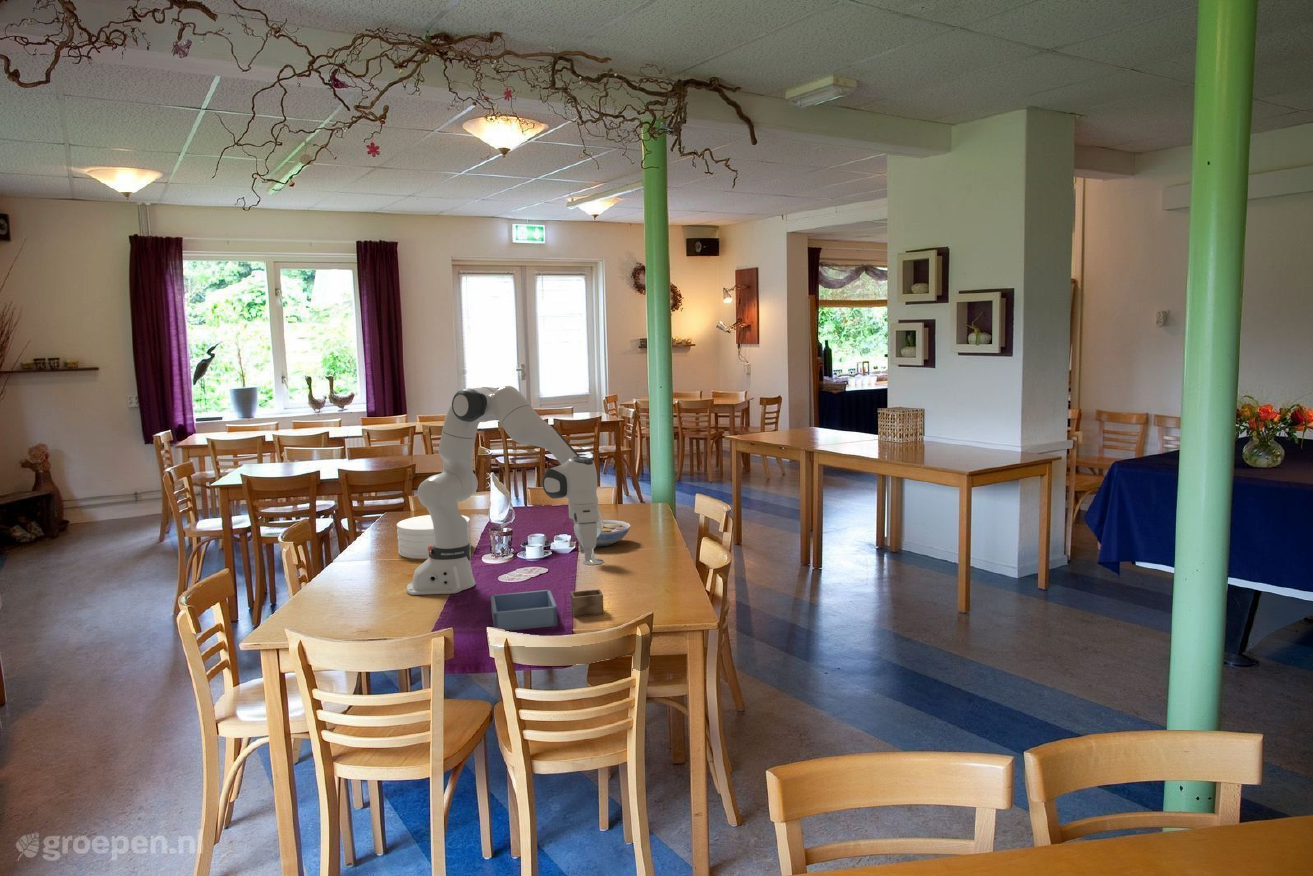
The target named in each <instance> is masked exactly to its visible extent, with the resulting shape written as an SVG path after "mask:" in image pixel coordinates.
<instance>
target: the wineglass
mask: <svg viewBox="0 0 1313 876" xmlns="http://www.w3.org/2000/svg"><path fill="white" fill-rule="evenodd" d="M598 511H599V521H598V522H597V538H598V537H599V536H600V535H601V533H602V530H603V525H602V516H601V512H600V508H599V507H598ZM594 549H595V548H592V554H591V561H586V560H585V559H584V560H583V561H582V563H583V564H584V565H587V566H588V565H589V566H590V565H591V566H595V565H601V564H603V563H604V560H603V559H601V558H596V557H595V551H594Z"/></svg>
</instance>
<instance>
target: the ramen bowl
mask: <svg viewBox="0 0 1313 876" xmlns="http://www.w3.org/2000/svg"><path fill="white" fill-rule="evenodd" d="M602 525H603V530H602V533H601V535H600V536H599V537H598V538H597V542H596V547H609V546H611V545H613V544H615V543H617V542H619V541H621V540H622V539H623V538H624V537H625V536H626V535H627V534H628V532H629V530H630V529H631V527H632V526H631V524H630V523H629V522H626V521H622V520H615V519H614V520H613V519H611V520H610V519H609V520H608V519H603V520H602Z"/></svg>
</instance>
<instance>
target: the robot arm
mask: <svg viewBox="0 0 1313 876" xmlns="http://www.w3.org/2000/svg"><path fill="white" fill-rule="evenodd" d="M492 421H498V422H499V423H500V425H501V426H502V428H503V430H504V431H505V433H506V434H507V435H508V436H509V438H511V440H513V441H514V442H515V443H517V444H521V445H527V446H534V447H538V448H541V449H545V450H547V451H548V452H549V453H550V454H551V455H552V456H553V457H554V458H555V459H556V460H557V461H558V462H559V465H557V466H554V467H551V468H548V469H547V470H545V472H544V474H543V475H542V479H541V480H542V482H541V484H542V489H543V491H544V493H545V495H547V497H549V498H551V499H555V500H556V499H557V500H558V499H564V498H565V499H566V498H567V500H568V503H567V504H568V519H571V520H573V521H572V522H573V530H574V531H573V532H574V536H575V537H576V538H577V540H578V546H579V552H580V554H584V561H585V560H586V561H591V558H592V548H594V549H595V548H596V547H597V546H596V542H597V522H598V521H599V511H600V510H599V511H598V508H599V498H598V496H597V490H598V472H597V469H596V465H595V462H594V460H593V459H592V458H590V457H587V456H580V455H579V453H577V451H576V450H575V449H574V448H573V447H572V445H571V444H569V442H568V441H567V440H566V439H565V437H563V435H562V434H561V433H560V432H559V431H558V430H557V429H556V428H554V427H553V426H552V425H551V424H549V423H548V422H546V421H545V420H544V419H543V418H542V417H541V416H540V415H539V414H538V413H537V412H536V411H535V409H534V407H533V406H532V404H530V402H529V401H528V400H527V398H526V397H525V396H524V395H523V394H522V393H521V392H520V391H519V390H518V389H517V388H516V387H514V386H512V385H503V386H501V387H492V386H490V387H488V386H483V387H482V386H481V387H473V388H471V387H469V388H468V387H467V388H463V389H460V390H459V391H457V392H456V393H455V394H454V395H453V398H452V400H451V403H450V404H449V407H448V410H447V412H446V415H445V418H444V422H443V425H442V429H441V435H440V440H439V446H438V454H439V457H440V459H442V463H443V464H442V465H443V467H442V468H443V469H442V472H441V473H438V474H433V475H431V476H428V477H427V478H426V479H424V480H423V481H422V482H421V483H420V484H418V485H419V486H418V488H417V497H418V501H419V503H420V504H421V505H422V506H423V507H425V508H426V510H427V511H428V513H429V515H430V516H431V519H432V522H433V528H434V540H435V545H434V546H433V545H429V547H428V551H429V558H426V560H425V561H424V562H423V563H420V565H419V566H417V568H416V569H415V571H414V573H413V577H412V581H411V582H410V583H408V584H407V586H406V593H407V594H409V595H411V596H416V595H417V596H419V595H447V594H449V595H450V594H457V593H460V592H461V591H464V590H467V589H471V588H472V587H474V586H475V585H476V581H475V577H474V575H473V570H472V565H471V558H472V557H471V556H472V554H471V553H472V552H471V548H470V544H469V543H468V527H467V521H466V519H465V518H464V517H462V516H461V515H462V514H461V511H460V508H459V503H460V502H463V501H466V500H467V499H469V498H471V496H473V495H474V494H475V493H476V491H477V490H478V485H479V482H478V481H479V480H478V477H477V475H476V474H475V473H474V468H473V454H474V451H475V450H474V449H475V445H476V439H477V433H478V427H479V424H480V423H485V422H492Z"/></svg>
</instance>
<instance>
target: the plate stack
mask: <svg viewBox="0 0 1313 876" xmlns="http://www.w3.org/2000/svg"><path fill="white" fill-rule="evenodd" d="M461 516H462V517H464V518H465V519H466V521H467V527H468V543H469V544H470V549H471V548H472V543H471V541H472V538H471V535H472V534H471V524H470V522H471V521H470V520H471V519H470V517H468V516H466V515H463V514H461ZM396 529H397V531H396V533H397V542H398V543H397V547H398V555H400V556H401V557H404V558H410V559H420V560H421V559H428V558H429V551H428V547H429V545H433V546H434V545H435V540H434V528H433V522H432V519H431V516H430V514H426V515H425V514H424V515H419V516H414V517H409V518H406V519H403V520H400V521H398V522H397V523H396Z"/></svg>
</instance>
